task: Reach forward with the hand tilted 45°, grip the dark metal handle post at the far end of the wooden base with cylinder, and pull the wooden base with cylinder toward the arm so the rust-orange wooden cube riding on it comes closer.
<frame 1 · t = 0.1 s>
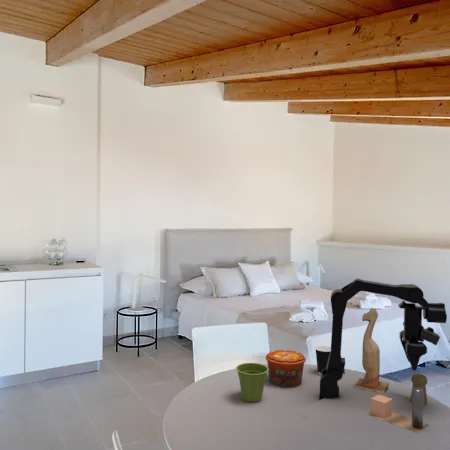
hand: (412, 365, 155), 15 cm above the table, tool pointing down, fingers open, 9 cm apart
wooden base with cylinder: (396, 402, 143), point 7 cm above the table, slide at 0.0 cm, touching cube
plant pot: (252, 399, 161), on the table
cork: (418, 406, 156), on the table
cube: (381, 413, 147), point 1 cm above the table, touching wooden base with cylinder
bird sculpture: (371, 390, 170), on the table
dixie cup: (324, 374, 187), on the table
food container: (285, 382, 178), on the table
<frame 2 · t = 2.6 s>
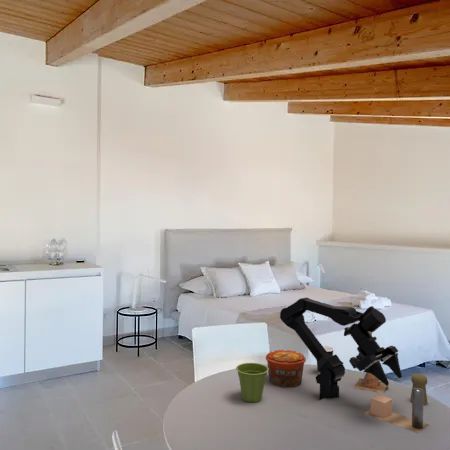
hand: (394, 381, 143), 13 cm above the table, tool tilted 45°, fingers open, 9 cm apart
nothing on the table moved.
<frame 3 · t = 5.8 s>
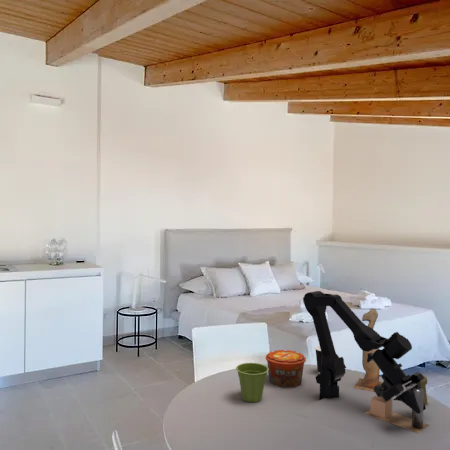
hand: (422, 411, 137), 7 cm above the table, tool tilted 45°, fingers closed on wooden base with cylinder, 3 cm apart
wooden base with cylinder: (396, 402, 143), point 7 cm above the table, slide at 0.0 cm, touching cube, gripper
everything else where it was.
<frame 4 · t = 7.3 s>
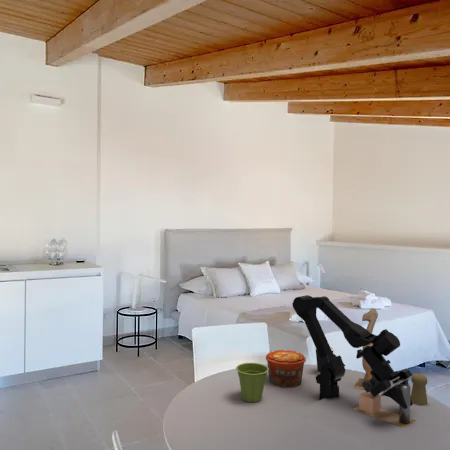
hand: (408, 407, 140), 7 cm above the table, tool tilted 45°, fingers closed on wooden base with cylinder, 3 cm apart
wooden base with cylinder: (384, 398, 146), point 7 cm above the table, slide at 4.1 cm, touching cube, gripper
cube: (369, 409, 150), point 1 cm above the table, touching wooden base with cylinder
everything else where it was.
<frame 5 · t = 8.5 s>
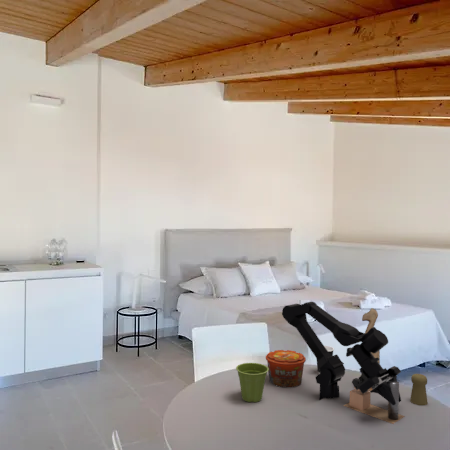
hand: (397, 403, 143), 7 cm above the table, tool tilted 45°, fingers closed on wooden base with cylinder, 3 cm apart
wooden base with cylinder: (373, 395, 149), point 7 cm above the table, slide at 7.9 cm, touching cube, gripper
cube: (359, 406, 152), point 1 cm above the table, touching wooden base with cylinder
everything else where it was.
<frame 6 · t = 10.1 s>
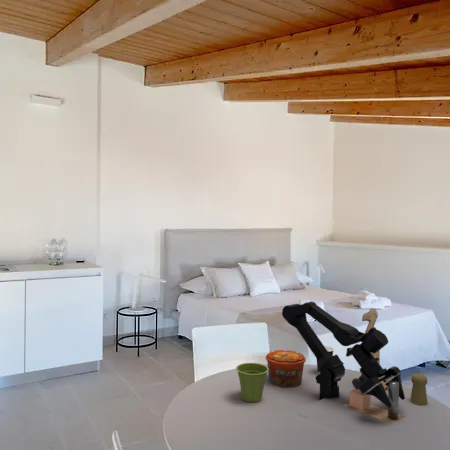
hand: (397, 403, 143), 7 cm above the table, tool tilted 45°, fingers open, 9 cm apart
wooden base with cylinder: (373, 395, 149), point 7 cm above the table, slide at 7.9 cm, touching cube
everything else where it was.
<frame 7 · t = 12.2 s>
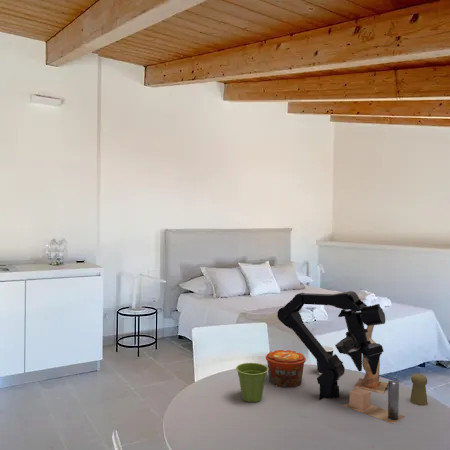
hand: (367, 372, 153), 13 cm above the table, tool tilted 15°, fingers open, 9 cm apart
nothing on the table moved.
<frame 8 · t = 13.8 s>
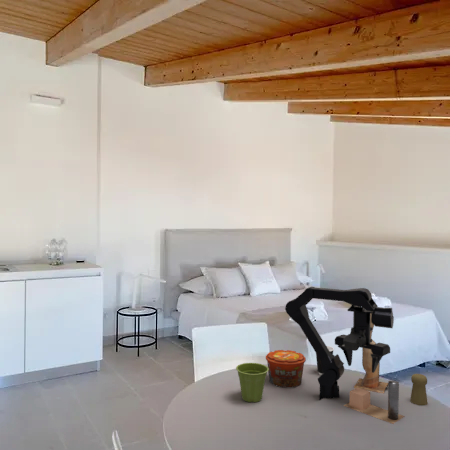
hand: (361, 368, 156), 13 cm above the table, tool pointing down, fingers open, 9 cm apart
nothing on the table moved.
at the end: wooden base with cylinder slide at 7.9 cm; cube inside the target area (0.3 cm from its centre), point 1.4 cm above the table; cube tilted 0° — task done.
